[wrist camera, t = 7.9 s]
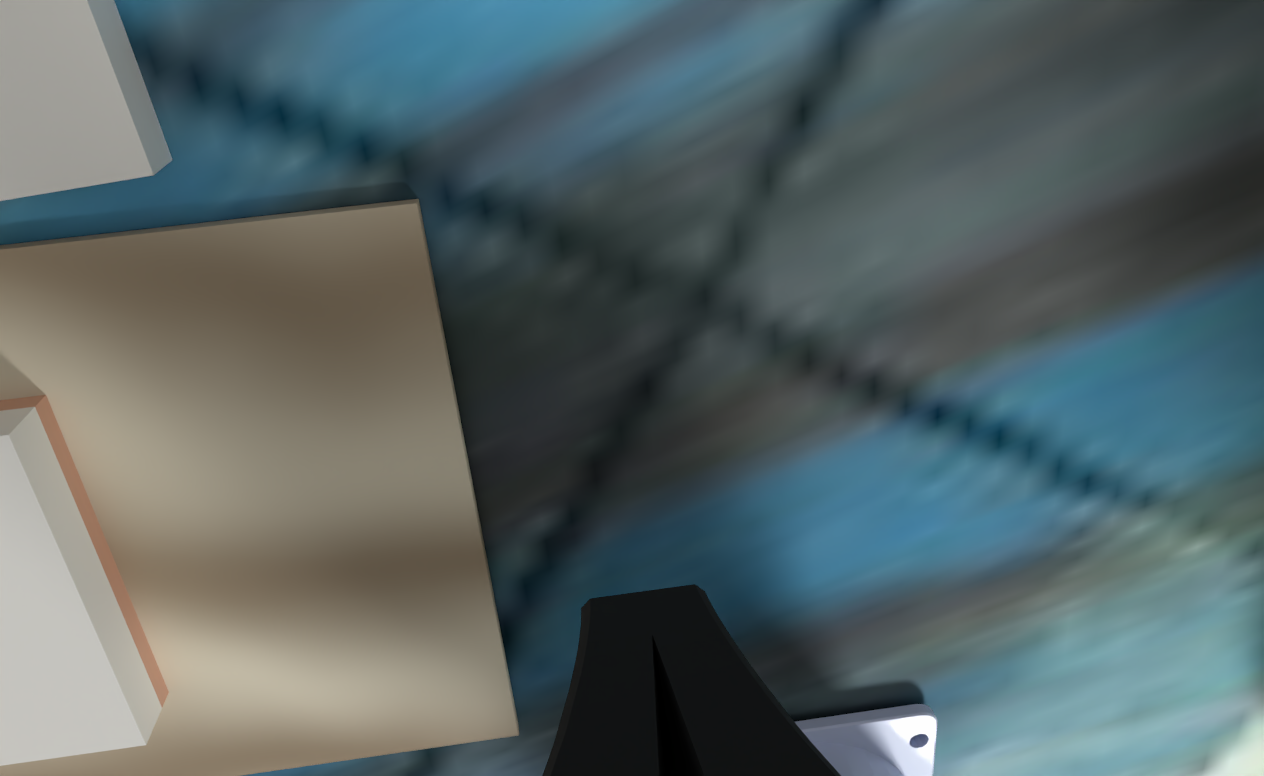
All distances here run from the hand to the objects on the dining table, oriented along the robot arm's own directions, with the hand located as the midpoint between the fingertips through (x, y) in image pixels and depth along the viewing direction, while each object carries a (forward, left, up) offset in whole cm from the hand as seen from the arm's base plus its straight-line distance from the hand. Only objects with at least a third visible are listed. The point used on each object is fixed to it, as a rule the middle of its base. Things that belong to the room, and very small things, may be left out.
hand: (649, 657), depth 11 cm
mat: (-4, +12, -10) cm, 16 cm away
